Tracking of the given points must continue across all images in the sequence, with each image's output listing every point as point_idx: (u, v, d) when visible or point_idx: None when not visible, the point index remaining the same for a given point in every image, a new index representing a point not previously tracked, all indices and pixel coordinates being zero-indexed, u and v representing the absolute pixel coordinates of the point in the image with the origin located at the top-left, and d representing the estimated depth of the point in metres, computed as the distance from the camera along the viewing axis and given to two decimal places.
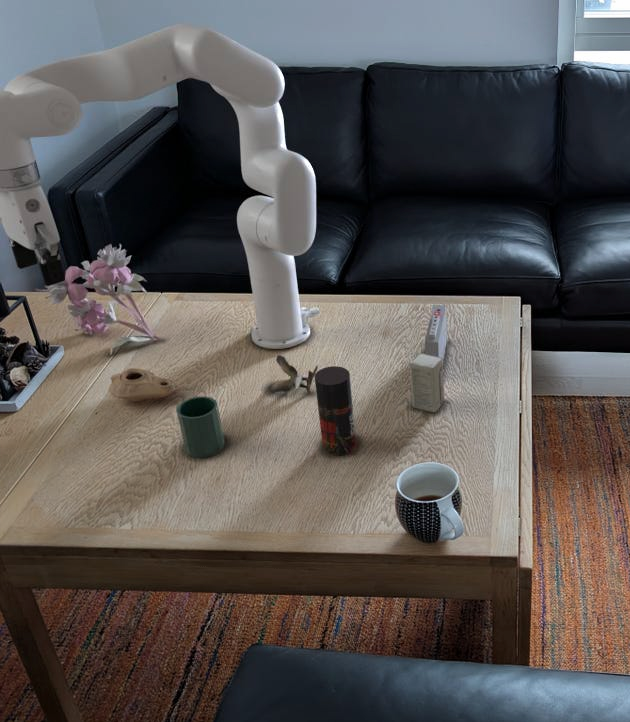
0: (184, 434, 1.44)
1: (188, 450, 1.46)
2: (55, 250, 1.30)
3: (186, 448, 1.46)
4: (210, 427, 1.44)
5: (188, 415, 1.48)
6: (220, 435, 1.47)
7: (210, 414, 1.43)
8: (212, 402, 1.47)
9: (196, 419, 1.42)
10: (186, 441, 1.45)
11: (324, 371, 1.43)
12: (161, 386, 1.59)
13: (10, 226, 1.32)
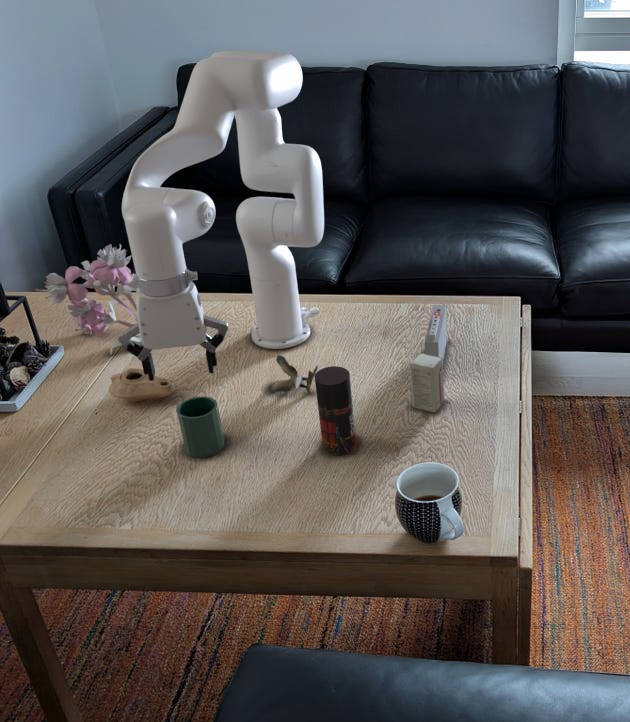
0: (184, 434, 1.44)
1: (188, 450, 1.46)
2: None
3: (186, 448, 1.46)
4: (210, 427, 1.44)
5: (188, 415, 1.48)
6: (220, 435, 1.47)
7: (210, 414, 1.43)
8: (212, 402, 1.47)
9: (196, 419, 1.42)
10: (186, 441, 1.45)
11: (324, 371, 1.43)
12: (161, 386, 1.59)
13: (170, 332, 1.34)
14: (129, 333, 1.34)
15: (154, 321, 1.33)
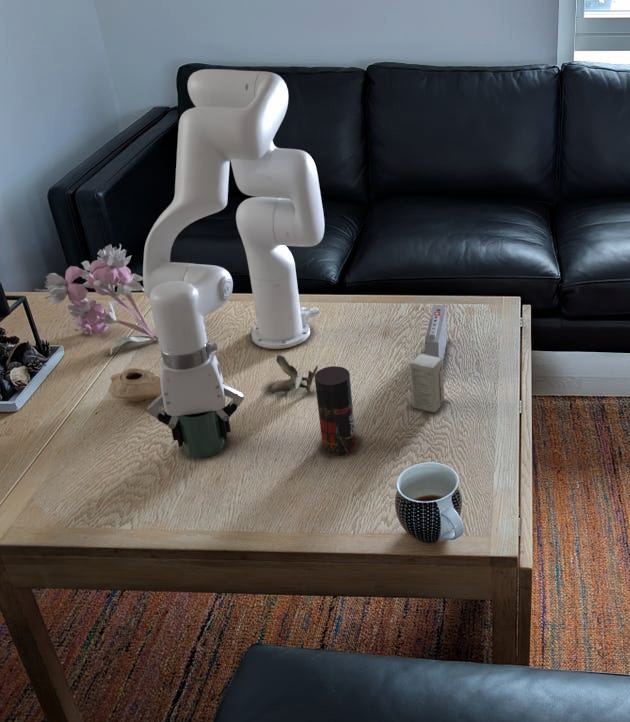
0: (184, 434, 1.44)
1: (188, 450, 1.46)
2: None
3: (186, 448, 1.46)
4: (210, 427, 1.44)
5: (188, 415, 1.48)
6: (220, 435, 1.47)
7: (210, 414, 1.43)
8: None
9: (196, 419, 1.42)
10: (186, 441, 1.45)
11: (324, 371, 1.43)
12: None
13: (191, 400, 1.41)
14: (156, 404, 1.42)
15: (177, 391, 1.39)
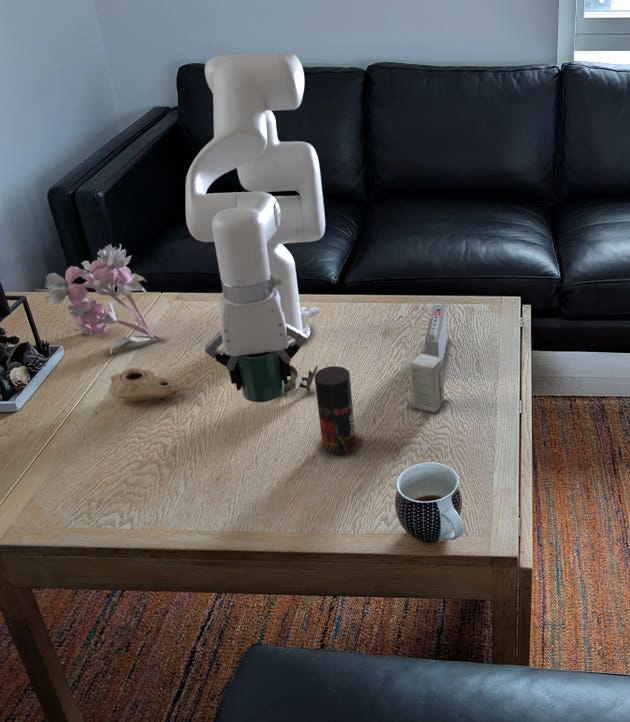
0: (244, 376, 1.35)
1: (247, 394, 1.37)
2: None
3: (244, 392, 1.37)
4: (271, 369, 1.35)
5: None
6: (280, 378, 1.38)
7: (271, 354, 1.34)
8: None
9: (257, 359, 1.33)
10: (245, 384, 1.36)
11: (324, 371, 1.43)
12: (161, 386, 1.59)
13: (253, 339, 1.32)
14: (214, 343, 1.33)
15: (238, 328, 1.30)
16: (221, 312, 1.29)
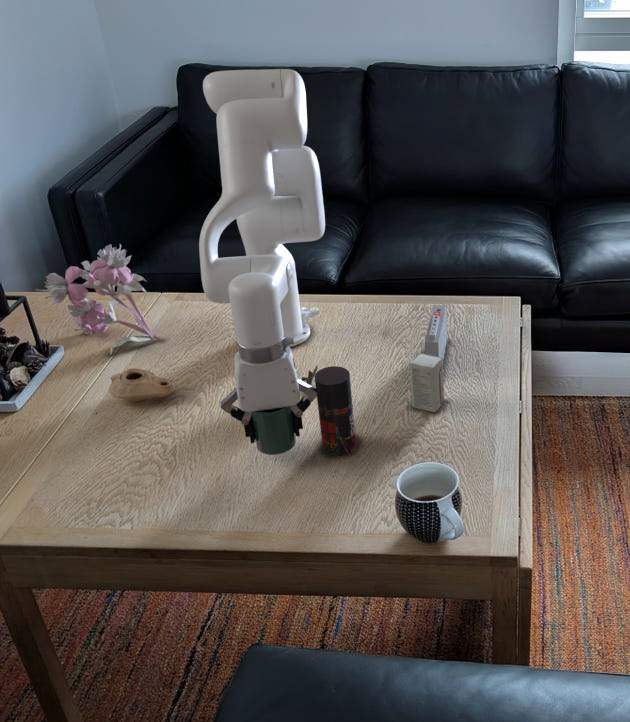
0: (258, 430, 1.41)
1: (260, 447, 1.42)
2: None
3: (258, 445, 1.43)
4: (284, 423, 1.40)
5: (260, 411, 1.44)
6: (293, 432, 1.43)
7: (284, 410, 1.39)
8: None
9: (271, 415, 1.38)
10: (259, 438, 1.41)
11: (324, 371, 1.43)
12: (161, 386, 1.59)
13: (267, 396, 1.37)
14: (230, 399, 1.38)
15: (252, 386, 1.36)
16: (236, 371, 1.35)
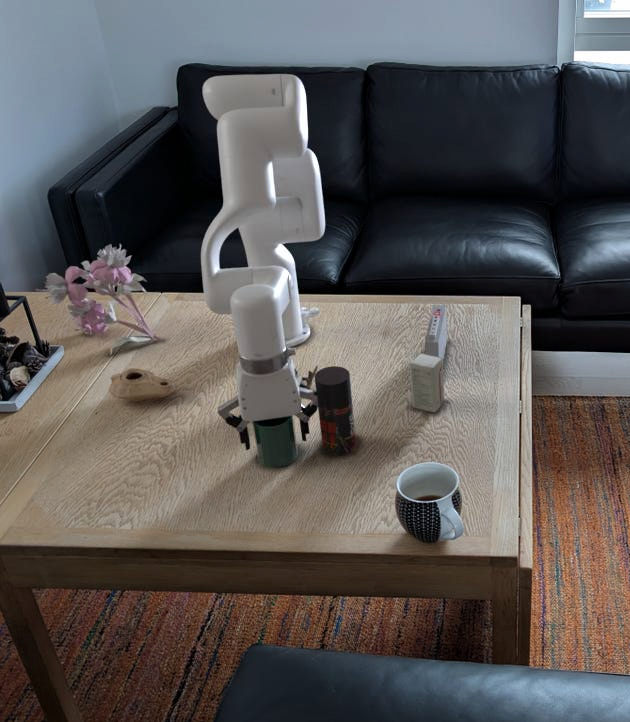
0: (260, 443, 1.42)
1: (262, 460, 1.44)
2: None
3: (260, 458, 1.44)
4: (286, 437, 1.42)
5: (262, 424, 1.45)
6: (294, 444, 1.45)
7: (286, 423, 1.41)
8: None
9: (273, 428, 1.40)
10: (261, 451, 1.43)
11: (324, 371, 1.43)
12: (161, 386, 1.59)
13: (268, 406, 1.39)
14: (229, 406, 1.39)
15: (254, 396, 1.37)
16: (238, 382, 1.36)
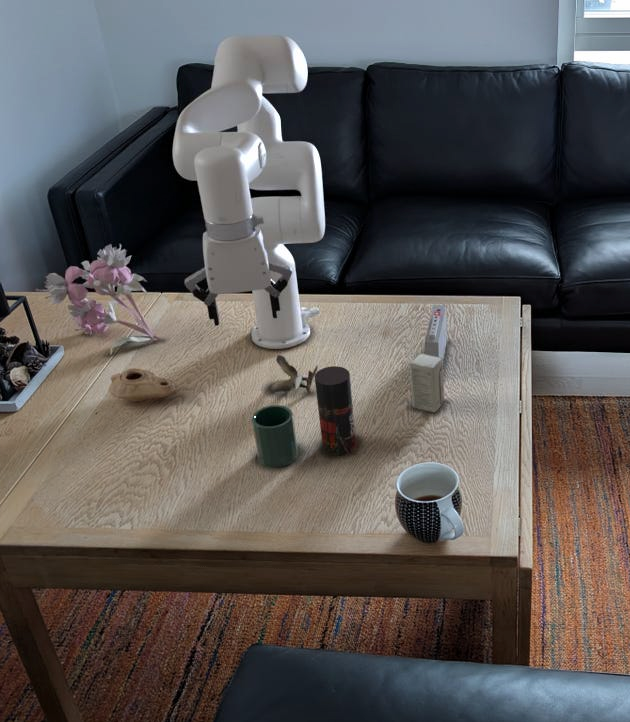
0: (260, 443, 1.42)
1: (262, 460, 1.44)
2: None
3: (260, 458, 1.44)
4: (286, 437, 1.42)
5: (262, 424, 1.45)
6: (294, 444, 1.45)
7: (286, 423, 1.41)
8: (287, 411, 1.44)
9: (273, 428, 1.40)
10: (261, 451, 1.43)
11: (324, 371, 1.43)
12: (161, 386, 1.59)
13: (236, 277, 1.35)
14: (196, 278, 1.35)
15: (222, 265, 1.33)
16: (205, 250, 1.32)
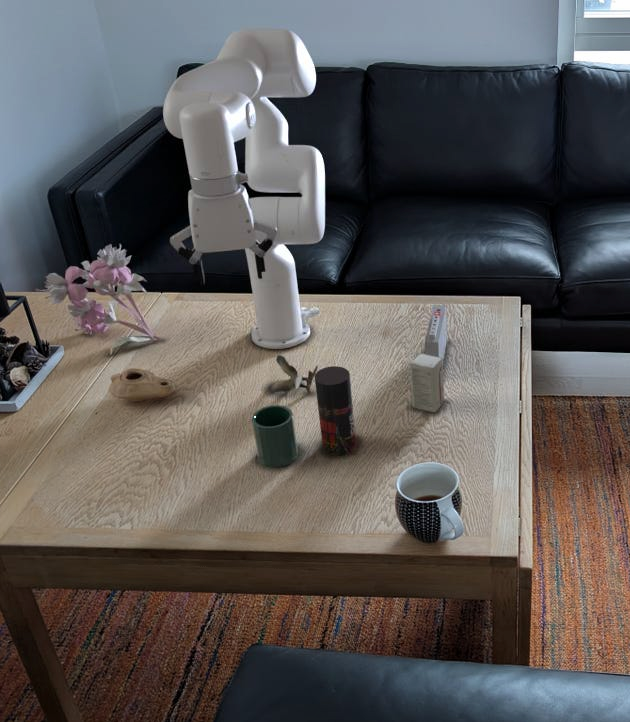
0: (260, 443, 1.42)
1: (262, 460, 1.44)
2: None
3: (260, 458, 1.44)
4: (286, 437, 1.42)
5: (262, 424, 1.45)
6: (294, 444, 1.45)
7: (286, 423, 1.41)
8: (287, 411, 1.44)
9: (273, 428, 1.40)
10: (261, 451, 1.43)
11: (324, 371, 1.43)
12: (161, 386, 1.59)
13: (221, 234, 1.36)
14: (181, 235, 1.36)
15: (206, 222, 1.35)
16: (190, 207, 1.34)
